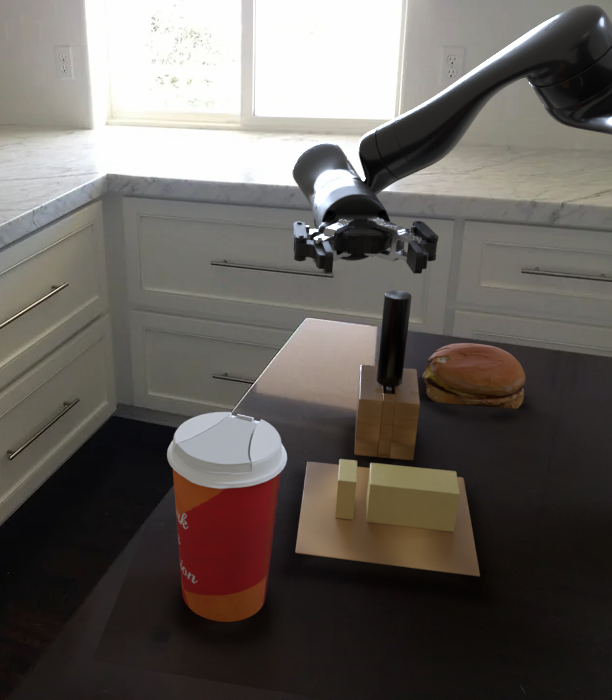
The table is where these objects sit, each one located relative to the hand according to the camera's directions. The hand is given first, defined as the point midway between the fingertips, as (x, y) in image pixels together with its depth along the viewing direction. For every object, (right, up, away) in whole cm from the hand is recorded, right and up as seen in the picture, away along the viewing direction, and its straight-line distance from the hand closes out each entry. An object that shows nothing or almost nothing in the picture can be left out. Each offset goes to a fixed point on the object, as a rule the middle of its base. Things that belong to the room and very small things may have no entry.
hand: (374, 264), depth 83 cm
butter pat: (-5, -21, -14) cm, 26 cm away
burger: (+12, -13, +6) cm, 18 cm away
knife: (0, -18, -4) cm, 18 cm away
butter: (-1, -21, -15) cm, 26 cm away
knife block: (0, -18, -4) cm, 18 cm away
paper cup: (-17, -27, -22) cm, 38 cm away
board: (-3, -23, -14) cm, 27 cm away
